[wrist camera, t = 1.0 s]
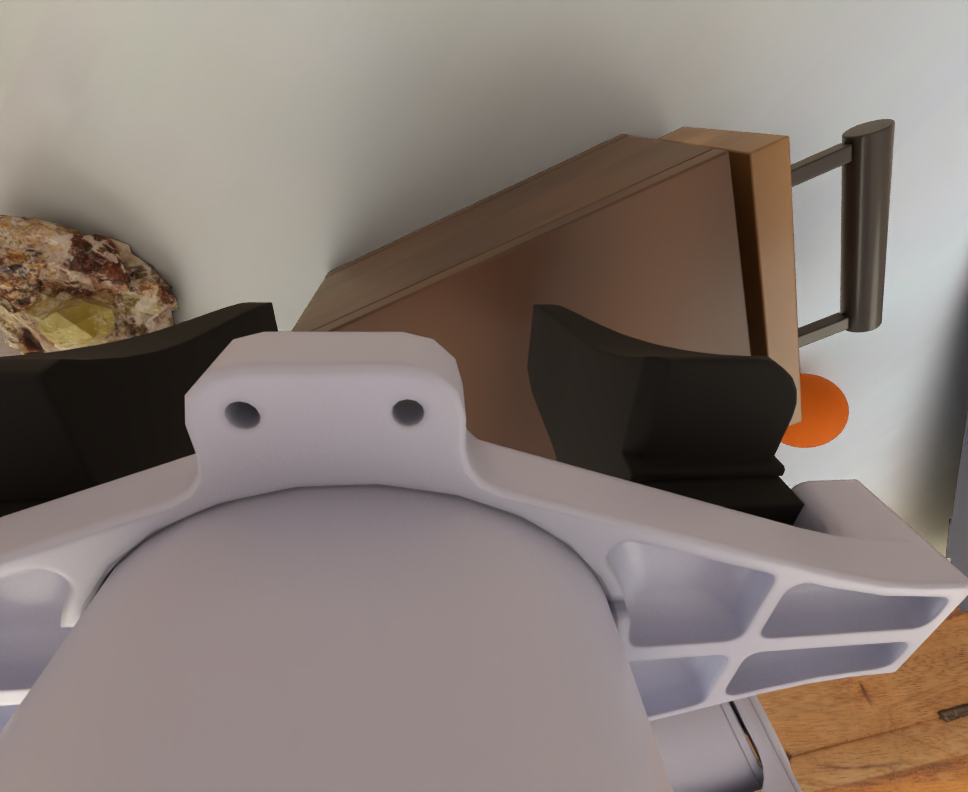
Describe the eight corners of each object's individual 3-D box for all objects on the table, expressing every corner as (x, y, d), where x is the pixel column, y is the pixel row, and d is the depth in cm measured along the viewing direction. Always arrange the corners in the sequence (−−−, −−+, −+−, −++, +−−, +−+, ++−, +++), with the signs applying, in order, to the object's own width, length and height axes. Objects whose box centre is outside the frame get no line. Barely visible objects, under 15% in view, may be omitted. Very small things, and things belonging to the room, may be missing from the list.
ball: (824, 390, 29) (879, 431, 25) (761, 430, 30) (805, 475, 26) (798, 347, 27) (853, 384, 23) (732, 392, 28) (776, 433, 24)
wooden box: (676, 748, 55) (741, 922, 43) (647, 687, 46) (719, 883, 35) (942, 674, 51) (1094, 844, 39) (965, 592, 42) (1167, 778, 31)
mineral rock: (-128, 272, 18) (-10, 208, 15) (-18, 232, 21) (94, 174, 19) (95, 460, 24) (207, 438, 21) (153, 406, 27) (257, 380, 25)
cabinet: (622, 133, 20) (730, 149, 13) (674, 365, 27) (764, 464, 19) (327, 272, 22) (274, 355, 15) (442, 456, 29) (446, 577, 21)
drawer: (803, 70, 19) (968, 55, 13) (810, 313, 25) (925, 377, 19) (394, 260, 21) (379, 318, 15) (490, 439, 27) (505, 529, 21)
